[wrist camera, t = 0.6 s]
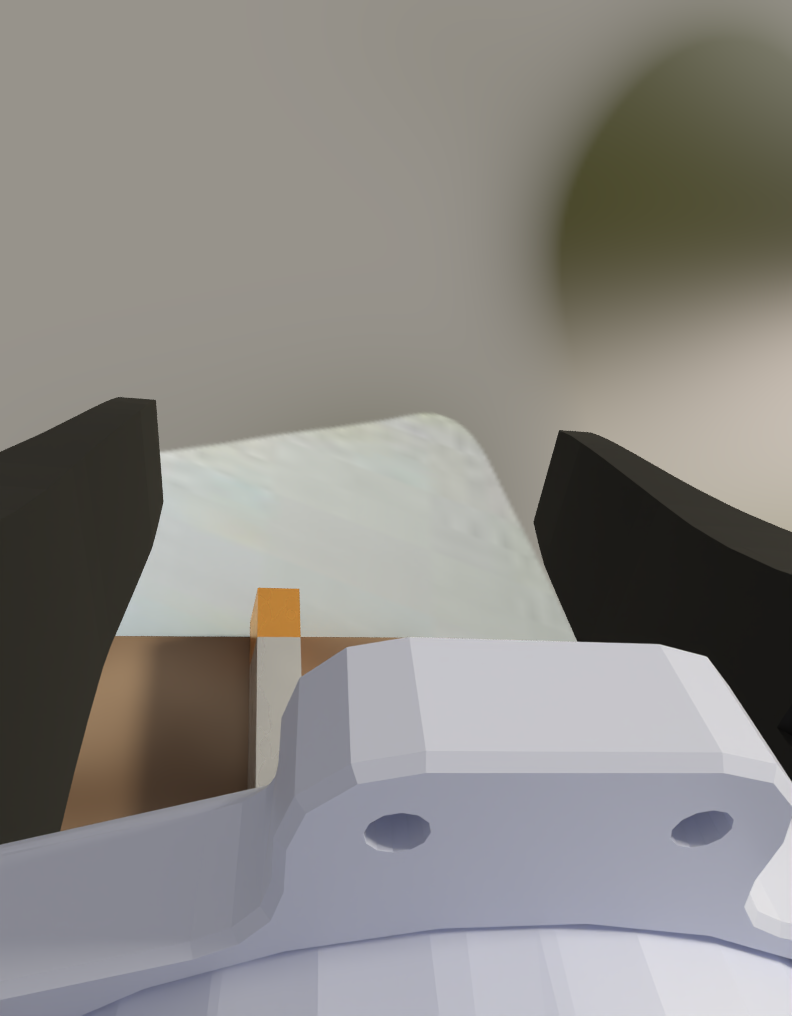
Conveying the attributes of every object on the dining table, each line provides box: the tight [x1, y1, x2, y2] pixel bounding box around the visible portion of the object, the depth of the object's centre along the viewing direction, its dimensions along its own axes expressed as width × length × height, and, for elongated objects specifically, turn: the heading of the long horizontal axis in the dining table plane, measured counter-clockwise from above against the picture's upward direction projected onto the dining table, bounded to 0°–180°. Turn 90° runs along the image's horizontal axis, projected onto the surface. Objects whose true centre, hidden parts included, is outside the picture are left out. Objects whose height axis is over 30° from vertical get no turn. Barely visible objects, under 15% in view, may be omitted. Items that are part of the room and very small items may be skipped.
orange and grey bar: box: [247, 588, 301, 790], centre depth 24 cm, size 12×5×3 cm, turn 6°
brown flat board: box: [60, 636, 399, 831], centre depth 25 cm, size 14×18×1 cm
